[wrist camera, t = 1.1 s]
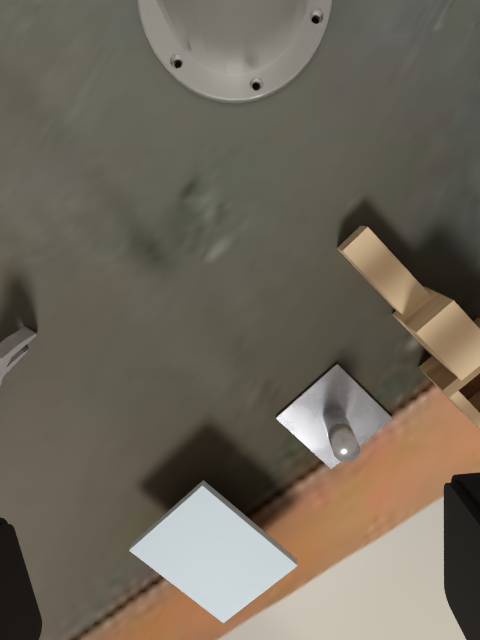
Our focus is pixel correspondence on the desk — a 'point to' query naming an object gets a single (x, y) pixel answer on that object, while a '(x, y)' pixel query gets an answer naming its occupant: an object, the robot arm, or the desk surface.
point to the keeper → (213, 552)
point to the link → (423, 319)
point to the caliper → (14, 349)
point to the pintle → (334, 417)
